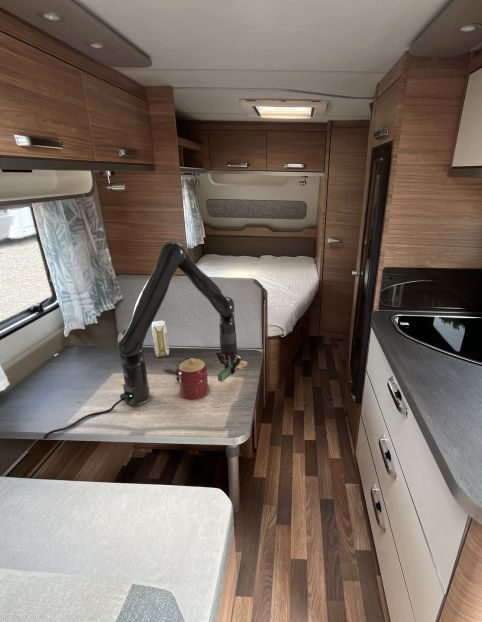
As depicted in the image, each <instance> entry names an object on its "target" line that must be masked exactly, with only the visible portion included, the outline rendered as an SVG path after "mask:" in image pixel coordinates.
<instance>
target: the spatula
mask: <svg viewBox="0 0 482 622" xmlns="http://www.w3.org/2000/svg"><path fill="white" fill-rule="evenodd" d="M235 362H236V361H235ZM247 365H248V361H246V360H242V359H241V361H240V363H239V365H238V366H237V367H236V368H235V372H236V371H241V370H242V369H243V368H245V367H246V366H247ZM230 368H231V366H230V364H229V366H228V367H226V368H225V367H224V369H223V370H220V372H219V373H218V374H217V381H218V382H221V383H222V382H223V383H224V381H225V380H226V379H228V378H229V377H230V376H231V375H232V374H231V369H230Z"/></svg>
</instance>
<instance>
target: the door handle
mask: <svg viewBox="0 0 482 622" xmlns="http://www.w3.org/2000/svg"><path fill="white" fill-rule="evenodd" d="M190 358H191V357H186V358H185V359H184V361H185V360H188V359H190ZM200 360H202V361H204V362H205V360H204V359H200ZM178 369H179V367H178V368H175V367H171V366H166V367H165V368H164V372H168V373H173V374H176V378H175V379H176V381H177V382H179V379H178V378H179V374H178Z"/></svg>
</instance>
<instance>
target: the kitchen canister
mask: <svg viewBox="0 0 482 622" xmlns="http://www.w3.org/2000/svg"><path fill="white" fill-rule="evenodd" d="M189 358H190V359H188V360H185V359H184V361H182V362H181V363H180V364H179V366H178V368H179V369H178V368H177V369H178V374H179V375H178V376H179V378H178V379H179V383H178V384H179V393H180V396H181V397H182V398H184V399H187V400H195V399H201V398H203V397H204V396H206V395H207V394H208V392H209V388H210V387H209V380H208V372H207V370H208V366H207V365H206V364H205V360H204V361H202V360H203V359H202V360H201V359H199V358H193V357H189Z"/></svg>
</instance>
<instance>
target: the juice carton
mask: <svg viewBox="0 0 482 622" xmlns="http://www.w3.org/2000/svg"><path fill="white" fill-rule="evenodd" d="M151 334H152V342H153V348H154V354H155V356H156V357H157V358H161V357H162V358H163V357H167V356H169V354H170V347H169V345H170V344H169V337H168V329H167V324H166V323H165V320H157V321H153V322H152V323H151Z"/></svg>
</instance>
